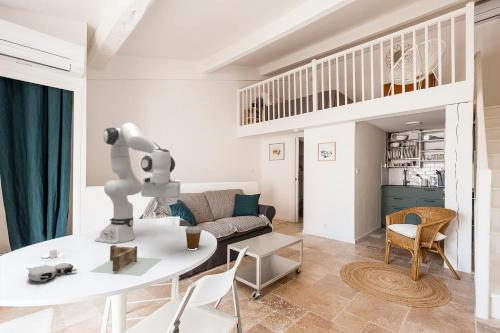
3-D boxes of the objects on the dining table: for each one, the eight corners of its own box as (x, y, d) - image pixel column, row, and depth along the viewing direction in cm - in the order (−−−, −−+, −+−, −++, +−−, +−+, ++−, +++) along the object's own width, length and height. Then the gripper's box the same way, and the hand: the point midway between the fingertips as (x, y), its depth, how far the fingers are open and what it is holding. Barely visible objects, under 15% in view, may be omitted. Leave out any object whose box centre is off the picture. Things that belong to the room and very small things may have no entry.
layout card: (89, 272, 107) (89, 271, 107) (118, 256, 127) (118, 255, 127) (140, 276, 104) (140, 275, 104) (162, 259, 124) (162, 258, 124)
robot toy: (67, 269, 112) (23, 278, 100) (68, 259, 112) (25, 267, 100) (77, 276, 105) (32, 287, 92) (79, 266, 105) (34, 275, 93)
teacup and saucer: (37, 259, 121) (38, 251, 121) (55, 254, 128) (55, 246, 128) (49, 262, 118) (49, 254, 118) (66, 257, 125) (66, 249, 125)
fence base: (109, 260, 120) (110, 245, 120) (112, 259, 122) (112, 244, 122) (135, 262, 118) (135, 247, 118) (137, 261, 120) (138, 246, 120)
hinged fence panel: (132, 260, 118) (132, 247, 119) (135, 260, 118) (136, 248, 118) (112, 271, 106) (113, 257, 106) (116, 271, 105) (116, 257, 106)
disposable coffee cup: (187, 245, 148) (187, 225, 148) (202, 246, 147) (203, 226, 148) (182, 250, 138) (183, 229, 138) (199, 251, 138) (199, 230, 138)
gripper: (182, 179, 129) (182, 205, 129) (146, 178, 131) (145, 204, 131) (177, 180, 122) (177, 207, 122) (139, 179, 125) (138, 205, 125)
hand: (160, 205), depth 127 cm, fingers closed
